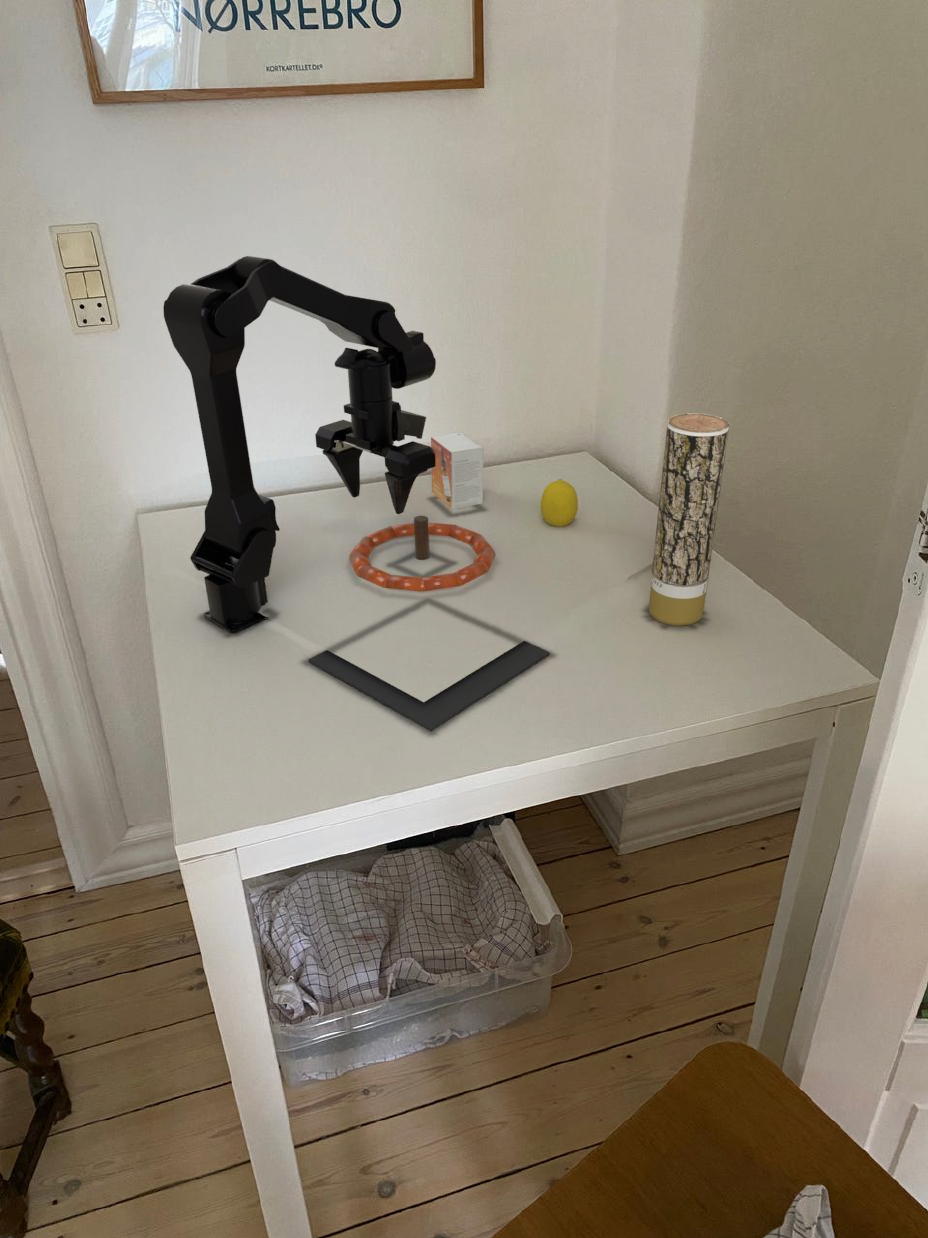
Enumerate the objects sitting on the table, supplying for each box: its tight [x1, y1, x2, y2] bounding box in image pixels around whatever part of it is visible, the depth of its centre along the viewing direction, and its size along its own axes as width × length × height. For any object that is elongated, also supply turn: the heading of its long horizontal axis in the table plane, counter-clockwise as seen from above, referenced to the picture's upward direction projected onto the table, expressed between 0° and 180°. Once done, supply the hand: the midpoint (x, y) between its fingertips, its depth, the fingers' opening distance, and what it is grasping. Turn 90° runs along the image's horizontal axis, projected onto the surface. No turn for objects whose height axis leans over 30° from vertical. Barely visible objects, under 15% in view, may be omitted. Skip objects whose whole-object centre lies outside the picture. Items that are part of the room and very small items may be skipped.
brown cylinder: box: [413, 515, 431, 561], centre depth 128 cm, size 6×6×7 cm
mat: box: [307, 640, 550, 732], centre depth 108 cm, size 20×20×1 cm
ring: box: [348, 521, 496, 592], centre depth 129 cm, size 20×20×2 cm
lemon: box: [540, 478, 579, 528], centre depth 137 cm, size 6×6×8 cm
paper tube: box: [648, 412, 730, 627], centre depth 110 cm, size 7×7×25 cm
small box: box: [430, 431, 485, 510], centre depth 145 cm, size 8×6×10 cm
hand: (377, 504), depth 131 cm, fingers open, 9 cm apart
